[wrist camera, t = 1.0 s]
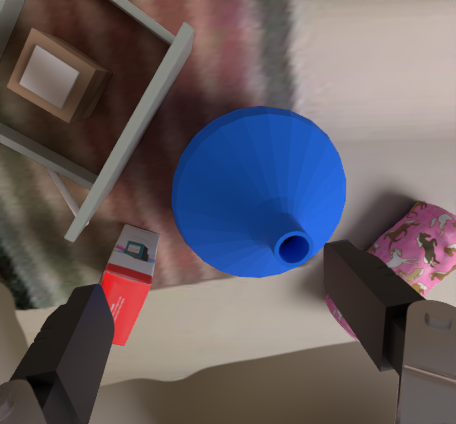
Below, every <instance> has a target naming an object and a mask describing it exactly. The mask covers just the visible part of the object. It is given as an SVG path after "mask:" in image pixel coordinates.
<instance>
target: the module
mask: <svg viewBox="0 0 456 424" xmlns="http://www.w3.org/2000/svg"><path fill="white" fill-rule="evenodd" d="M112 74H113V73H112V72H111V71H109V70H108V69H106V68H105V67H103V66H102V65H100V64H99V63H97V62H96V61H94V60H93V59H91V58H90V57H88V56H87V55H85V54H84V53H82V52H81V51H79V50H78V49H77V48H75V47H74V46H72V45H71V44H69V43H68V42H66V41H65V40H63V39H60V38H58V37H55V36H53V35H50V34H48V33H45V32H42V31H40V30H37V29H35V28H32V29H31V31H30V34H29V36H28V38H27V41H26V43H25V45H24V48H23V50H22V52H21V55H20V57H19V59H18V61H17V64H16V66H15V68H14V71H13V73H12V75H11V78H10V80H9V82H8V85H7V88H9V89H11V90H12V91H14V92H16V93H17V94H19V95H21V96H22V97H24V98H26V99H28V100H29V101H31V102H33V103H34V104H36V105H38V106H40V107H41V108H43V109H45V110H46V111H48V112H50V113H52V114H53V115H55V116H57V117H58V118H60V119H62V120H64V121H65V122H67V123H72V122H75V121H79V120H82V119H85V118H88V117H91V115H92V113H93V111H94V109H95V107H96V105H97V103H98V101H99V99H100V97H101V95H102V93H103V92H104V90H105V88H106V86H107V84H108V82H109V80H110V78H111V76H112Z"/></svg>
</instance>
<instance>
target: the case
mask: <svg viewBox="0 0 456 424" xmlns="http://www.w3.org/2000/svg"><path fill="white" fill-rule="evenodd" d="M109 1H110V2H111V3H113V4H114V5H115V6H117V7H118V8H119V9H121V10H122V11H124V12H125V13H126V14H128V15H129V16H130V17H132V18H133V19H134V20H136V21H137V22H138V23H140V24H141V25H142V26H144V27H145V28H146V29H148V30H149V31H150V32H152V33H153V34H155V35H156V36H157V37H159V38H160V39H161V40H163V41H164V42H165V43H167V44H168V45H169V46H170V48H169V50H168V52H167V54H166V55H165V57H164V59H163V61H162V63H161V64H160V66H159V68H158V70H157V72H156V73H155V75H154V77H153V79H152V81H151V82H150V84H149V86H148V88H147V90H146V91H145V93H144V95H143V97H142V99H141V100H140V102H139V104H138V106H137V108H136V109H135V111H134V113H133V115H132V116H131V118H130V120H129V122H128V124H127V125H126V127H125V129H124V131H123V133H122V134H121V136H120V138H119V140H118V142H117V143H116V145H115V147H114V149H113V151H112V152H111V154H110V156H109V158H108V160H107V161H106V163H105V165H104V167H103V169H102V170H101V172H100V174H99V176H97V175H95V174H94V173H92V172H90V171H88V170H86V169H85V168H83V167H81V166H79V165H77V164H75V163H74V162H72V161H70V160H68V159H66V158H64V157H63V156H61V155H59V154H57V153H55V152H54V151H52V150H50V149H48V148H46V147H44V146H43V145H41V144H39V143H37V142H35V141H33V140H32V139H30V138H28V137H26V136H24V135H22V134H21V133H19V132H17V131H15V130H13V129H12V128H10V127H8V126H6V125H4V124H2V123H1V122H0V143H2V144H4V145H6V146H8V147H10V148H12V149H14V150H15V151H17V152H19V153H21V154H23V155H25V156H27V157H29V158H31V159H33V160H34V161H36V162H38V163H40V164H42V165H44V167H45V168H46V170H47V171H48V173H49V175H50V176H51V178H52V180H53V181H54V183H55V184H56V186H57V188H58V189H59V191H60V192H61V194H62V196H63V197H64V199H65V201H66V202H67V204H68V205H69V207H70V209H71V210H72V212H73V214H74V215H75V219H74V221H73V223H72V224H71V226H70V228H69V230H68V232H67V233H66V235H65V237H64V238H65V239H67V240H69V241H71V242H74V241H75V240H76V238H77V237H78V236H79V234H80V233H81V232H82V230H83V229H84V227H85V226H87V225H88V224H89V221H90V219H91V218H92V216H93V215H94V214H95V212H96V211H97V210H98V208H99V207H100V205H101V204H102V203H103V201H104V200H105V199H106V197H107V196H108V195H109V193H110V192H111V190H112V189H113V187H114V185H115V183H116V182H117V180H118V178H119V177H120V175H121V173H122V171H123V170H124V168H125V166H126V164H127V163H128V161H129V159H130V157H131V156H132V154H133V152H134V151H135V149H136V147H137V145H138V144H139V142H140V140H141V138H142V137H143V135H144V133H145V131H146V130H147V128H148V126H149V125H150V123H151V121H152V119H153V118H154V116H155V114H156V112H157V111H158V109H159V107H160V106H161V104H162V102H163V100H164V99H165V97H166V95H167V93H168V92H169V90H170V88H171V86H172V85H173V83H174V81H175V80H176V78H177V76H178V74H179V73H180V71H181V69H182V67H183V66H184V64H185V62H186V60H187V59H188V57H189V55H190V54H191V51H192V44H193V37H194V31H195V29H193V28H192V27H191V26H190V25H188V24H187V23H186V22H185V21H184V23H183V25H182V27H181V28H180V30H179V32H178V34H177V36H176V37H175V36H174V35H173V34H171V33H170V32H169V31H167V30H166V29H165V28H163V27H162V26H161V25H160V24H158V23H157V22H156V21H154V20H153V19H152V18H150V17H149V16H148V15H146V14H145V13H144V12H142V11H141V10H140V9H138V8H137V7H136V6H134V5H133V4H132V3H130V2H129V1H128V0H109ZM24 2H25V0H0V60H1V57H2V55H3V53H4V50H5V48H6V45H7V43H8V41H9V38H10V36H11V33H12V31H13V29H14V26H15V24H16V21H17V19H18V17H19V14H20V12H21V9H22V7H23V5H24ZM58 173H59V174H61V175H63V176H65V177H67V178H68V179H70V180H72V181H74V182H76V183H78V184H80V185H82V186H84V187H85V188H87V189H89V190H90V192H89V194H88V196H87V197H86V199H85V201H84V203H83V205H82V206H81V208H80V207H79V205H78V204H77V202H76V200H75V199H74V197H73V196H72V194H71V193H70V191H69V190H68V188H67V186H66V185H65V183H64V182H63V180H62V179H61V177H60V176H59V174H58Z"/></svg>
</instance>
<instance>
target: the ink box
mask: <svg viewBox="0 0 456 424" xmlns="http://www.w3.org/2000/svg"><path fill="white" fill-rule="evenodd" d="M159 237H160V235H159V234H156V233H153V232H150V231H147V230H144V229H140V228H137V227H134V226H131V225H128V224H125V225H124V227H123V230H122V232H121V234H120V236H119V238H118V240H117V242H116V244H115V247H114V249H113V251H112V254H111V256H110V258H109V260H108V263H107V265H106V267H105V270H104V272H103V274H102V276H101V279H100V281H99V284H100V285H101V286H102V288H103V290H104V293H105V296H106V299H107V302H108V304H109V307H110V310H111V313H112V316H113V319H114V325H115V333H114V338H113V342H112V344H115V345H121V346H124V345H125V343H126V341H127V339H128V337H129V335H130V333H131V330H132V328H133V326H134V324H135V321H136V319H137V317H138V315H139V313H140V310H141V308H142V306H143V304H144V301H145V299H146V297H147V294H148V292H149V290H150V287H151V283H152V277H153V270H154V265H155V259H156V253H157V247H158V242H159Z"/></svg>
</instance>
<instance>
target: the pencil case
mask: <svg viewBox="0 0 456 424" xmlns="http://www.w3.org/2000/svg"><path fill="white" fill-rule="evenodd" d="M366 252H369V253H371V254H373V255H375V256H377V257H379V258H380V259H381V260H382V261H383V262H384V263H385V264H387V265H388V267H390V268H391V269H392V270H393V271H394V272H396V275H399V276H400V277H401V278H402V279H403V280H405V281H406V282H407V283H408V284H409V285H410V286H411V287H412V288H414V289H415V290H416V291H417V292H418V293H419V294H420V295H421V296H423V297H424V296H425V295H426V294H427V293H428V292H429V291H430V290H431V289H432V288H433V287H434V286H435V285H436V284H438V283H439V282H440V281H441V280H442V279H443V278H444V277H445V276H447V275H448V274H449V273H450V272H452V271H454V270H455V269H456V216H455V215H454V214H452V213H450V212H448V211H446V210H444V209H442V208H440V207H438V206H436V205H432V204H428V203H426V202H425V201H420V200H419V201H417V202H416V203H415V205H414V206H413V207H412V209H411V210H410V211H409V213H408V214H407V215H406V216H405V217H404V218H403V219H402V220H400V221H399V222H397V223H396V224H395V225H394V226H393V227H392V228H390V229H389V230H388V231H386V232H385V233H384V234H383V235H382V236H380V237H379V238H378V239H377V241H376V242H375V243H374V244H373V245H372V246H371V247H370V248H369V249H368V250H367V251H366ZM325 299H326V302H327V305H328V308H329V310H330V312H331V314H332V315H333V317H334V318H335V319H336V320H337V322H338V323H339V324H340V325H341V326H342V327H343V328H344V329H345V330H346V331H347V332H348V333H349V334H350V335H351V336H352V337H353V338H354V339H355V340H357V341H358V342H360V341H359V340H358V338H357V337H356V335H355V334H354V332H353V331H352V329H351V328H350V327H349V325H348V324H347V322H346V321H345V319H344V318H343V316H342V315H341V313H340V312H339V310H338V309H337V307H336V306H335V304H334V303H333V301H332V300H331V298H330V297H329V295H328V294H327V295H326V297H325Z"/></svg>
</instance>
